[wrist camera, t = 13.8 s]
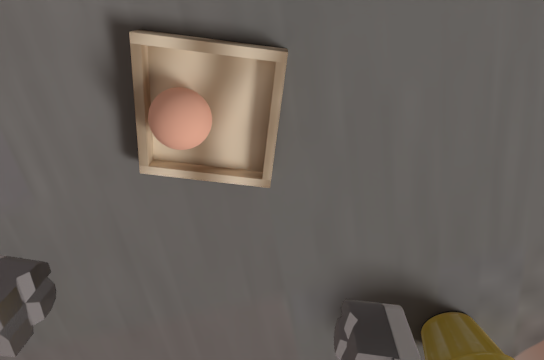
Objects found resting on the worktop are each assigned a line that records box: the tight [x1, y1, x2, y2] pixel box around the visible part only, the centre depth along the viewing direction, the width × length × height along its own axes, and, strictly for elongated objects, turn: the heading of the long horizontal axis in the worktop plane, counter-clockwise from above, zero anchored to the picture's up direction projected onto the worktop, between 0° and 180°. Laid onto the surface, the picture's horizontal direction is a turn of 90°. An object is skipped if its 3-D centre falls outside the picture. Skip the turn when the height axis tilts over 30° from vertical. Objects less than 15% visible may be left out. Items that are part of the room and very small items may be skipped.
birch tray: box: [129, 30, 288, 188], centre depth 29 cm, size 12×12×2 cm
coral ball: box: [148, 87, 212, 150], centre depth 27 cm, size 5×5×5 cm
